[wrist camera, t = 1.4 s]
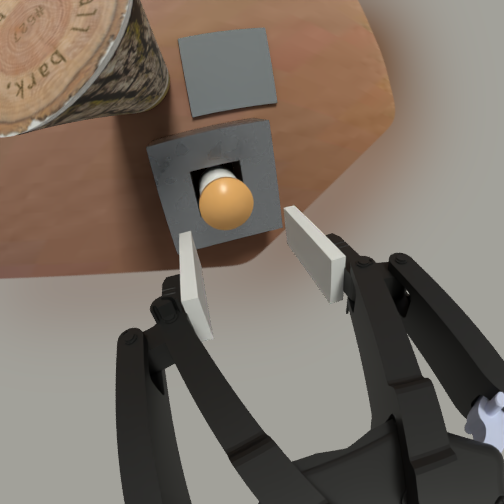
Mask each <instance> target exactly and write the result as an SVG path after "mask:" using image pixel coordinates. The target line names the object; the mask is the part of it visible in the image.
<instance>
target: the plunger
mask: <svg viewBox="0 0 504 504" xmlns="http://www.w3.org/2000/svg"><path fill="white" fill-rule="evenodd" d="M199 191H200V198H199V208H200V213H201V216H202V218H203V219H204V221H205V222H206V223H207V224H208V225H210V226H211V227H213V228H215V229H218V230H231V229H235V228H237V227H239V226H241V225H242V224H243V223H245V222H246V221H247V219H248V218H249V217H250V215H251V213H252V210H253V205H254V201H253V196H252V193H251V191H250V190H249V188H248V187H247V186H246V185H245V184H244V183H243V182H242V181H240V180H239V179H237V178H236V177H235V176H234V174H233V173H232V172H231V171H230V170H229V169H228V168H226V167H223V166H213V167H210V168H208V169H206V170H205V171H204V172H203V173H202V175H201V176H200V179H199Z"/></svg>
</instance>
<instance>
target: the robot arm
mask: <svg viewBox="0 0 504 504" xmlns="http://www.w3.org/2000/svg"><path fill="white" fill-rule="evenodd" d="M284 217H285V226H286V236H287V244H288V245H289V247H290V248H291V250H292V251H293V252H294V254H295V255H296V257H297V258H298V259H299V261H300V262H301V264H302V265H303V266H304V268H305V269H306V270H307V272H308V273H309V275H310V276H311V277H312V279H313V280H314V282H315V283H316V285H317V286H318V288H319V289H320V290H321V292H322V293H323V295H324V296H325V298H326V299H327V300H328V302H329V303H330V304H332V303H335V302H337V301H340V300H343V292H345V293H346V295H347V296H348V299H347V308H346V314H348V311H349V312H350V315H351V319H352V323H353V327H354V331H355V335H356V340H357V344H358V348H359V352H360V356H361V361H362V366H363V370H364V375H365V380H366V385H367V391H368V395H369V401H370V407H371V413H372V420H371V430H370V431H369V432H367V433H366V434H365V435H364V436H363V437H361V438H360V439H359V440H357V441H356V442H355V443H354V444H352V445H351V446H350V447H348V448H346V449H341V450H336V451H330V452H323V453H317V454H314V455H311V456H308V457H305V458H302V459H299V460H296V461H293V462H291V461H290V460H289V458H288V457H287V456H286V455H285V454H284V453H283V452H282V450H281V449H280V448H279V447H278V445H277V444H276V443H275V442H274V441H273V440H272V439H271V437H270V436H268V435H267V434H266V433H265V432H264V431H263V430H262V428H261V427H260V426H259V425H258V423H257V422H256V421H255V419H254V418H253V417H252V415H251V414H250V413H249V411H248V410H247V409H246V407H245V406H244V405H243V403H242V402H241V400H240V399H239V398H238V396H237V395H236V393H235V392H234V391H233V389H232V388H231V386H230V385H229V383H228V382H227V381H226V379H225V377H224V376H223V375H222V373H221V372H220V370H219V369H218V367H217V366H216V364H215V363H214V361H213V360H212V358H211V357H210V355H209V354H208V352H207V350H206V349H205V347H204V346H203V344H202V341H206V340H210V339H214V338H213V332H212V327H211V321H210V316H209V310H208V305H207V299H206V293H205V287H204V280H203V274H202V268H201V264H200V260H199V257H198V254H197V250H196V247H195V244H194V240H193V237H192V233H191V231H188V232H184V233H181V234H179V256H180V274H178V275H174V276H170V277H166V279H165V280H164V282H163V284H162V296H161V297H159V298H157V299H155V301H153V303H152V304H151V306H150V311H151V313H152V315H153V317H154V319H155V321H156V323H157V324H156V325H155V326H153V327H152V328H150V329H148V330H146V331H144V332H142V331H141V330H140V329H138V328H130V329H128V330H126V331H124V332H123V333H122V334H121V335H120V336H119V338H118V342H117V358H116V429H117V443H118V456H119V466H120V475H121V482H122V489H123V496H124V501H125V504H191V500H190V496H189V493H188V489H187V486H186V481H185V478H184V473H183V469H182V465H181V461H180V456H179V452H178V447H177V442H176V437H175V432H174V426H173V421H172V415H171V410H170V403H169V396H168V389H167V382H166V375H165V368H167V367H169V366H171V365H173V364H176V366H177V368H178V370H179V372H180V374H181V376H182V378H183V380H184V381H185V384H186V386H187V388H188V389H189V391H190V393H191V395H192V397H193V399H194V400H195V402H196V404H197V406H198V408H199V409H200V411H201V413H202V415H203V416H204V418H205V420H206V422H207V423H208V425H209V426H210V428H211V430H212V431H213V433H214V435H215V436H216V438H217V440H218V441H219V443H220V444H221V446H222V447H223V449H224V451H225V452H226V454H227V455H228V457H229V460H230V461H231V463H232V465H233V466H234V468H235V469H236V471H237V472H238V474H239V475H240V476H241V478H242V479H243V481H244V482H245V483H246V485H247V486H248V487H249V489H250V490H251V491H252V492H253V494H254V495H255V496H256V498H257V499H258V500H259V503H258V504H504V460H503V457H502V454H501V452H502V451H503V449H504V361H503V359H502V358H501V357H500V355H499V354H498V353H497V351H496V350H495V349H494V347H493V346H492V345H491V344H490V342H489V341H488V340H487V339H486V337H485V336H484V335H483V334H482V333H481V332H480V330H479V329H478V328H477V327H476V325H475V324H474V323H473V322H472V321H471V319H470V318H469V317H468V316H467V315H466V314H465V313H464V312H463V310H462V309H461V308H460V307H459V306H458V305H457V304H456V303H455V302H454V301H453V299H451V297H450V296H449V295H448V294H447V293H446V292H445V291H444V290H443V289H442V288H441V287H440V286H439V285H438V284H437V283H436V282H435V281H434V280H433V279H432V278H431V277H430V276H429V275H428V274H427V273H426V272H425V271H424V270H423V269H422V268H421V267H420V266H419V265H418V264H417V263H416V262H415V261H414V260H413V259H412V258H411V257H410V256H408V255H406V254H403V253H394V254H392V255H391V256H390V257H389V262H382V263H376V262H375V261H374V260H373V259H372V258H370V257H367V256H360V255H358V253H356V252H355V251H354V250H353V249H352V248H351V247H350V246H348V244H347V243H346V242H344V240H343V239H342V238H341V237H339V236H337V235H335V234H333V233H332V234H328V235H324V234H323V233H322V232H321V231H320V230H319V229H318V228H317V227H316V226H315V225H314V224H313V223H312V222H311V221H310V220H309V219H308V218H307V217H306V216H305V215H304V214H303V213H302V212H301V211H300V210H299V209H298V208H296V207H295V206H290V207H286V208H284ZM406 290H407V291H408V292H409V294H408V293H407V292H406ZM407 334H408V335H409V337H410V338H411V340H412V341H413V342H414V344H415V345H416V347H417V348H418V350H419V351H420V353H421V354H422V355H423V357H424V358H425V360H426V361H427V363H428V364H429V366H430V367H431V369H432V371H433V372H434V374H435V375H436V377H437V378H438V380H439V381H440V383H441V384H442V386H443V388H444V389H445V391H446V392H447V394H448V396H449V397H450V399H451V401H452V402H453V404H454V405H455V407H456V408H457V409H458V410H459V412H460V413H461V414H462V415H463V416H464V417H465V418H466V419H467V423H466V425H465V431H466V433H468V434H472V435H473V440H472V439H468V438H465V437H461V436H458V435H455V434H451V433H448V432H447V431H446V427H445V423H444V420H443V416H442V412H441V409H440V405H439V402H438V399H437V395H436V392H435V389H434V386H433V384H432V381H431V380H430V379H429V378H424V377H423V376H422V374H421V371H420V369H419V366H418V363H417V360H416V357H415V354H414V351H413V349H412V346H411V343H410V340H409V338H408V335H407Z"/></svg>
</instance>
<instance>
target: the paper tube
mask: <svg viewBox="0 0 504 504" xmlns="http://www.w3.org/2000/svg"><path fill="white" fill-rule="evenodd" d="M169 85H170V77H169V72H168V70H167V68H166V64H165V62H164V59H163V57H162V54H161V52H160V49H159V47H158V44H157V42H156V39H155V37H154V34H153V32H152V29H151V27H150V24H149V22H148V19H147V17H146V14H145V12H144V9H143V7H142V4H141V1H140V0H0V137H9V136H14V135H20V134H24V133H28V132H32V131H35V130H39V129H43V128H48V127H52V126H56V125H61V124H66V123H71V122H76V121H81V120H87V119H93V118H100V117H107V116H115V115H123V114H133V113H141V112H145V111H148V110H150V109H152V108H154V107H155V106H157V105H158V104H159V103H160V102H161V101H162V100H163V99H164V97H165V96H166V94H167V92H168V89H169Z"/></svg>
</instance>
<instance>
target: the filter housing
mask: <svg viewBox="0 0 504 504" xmlns="http://www.w3.org/2000/svg"><path fill="white" fill-rule="evenodd" d="M146 149H147V153H148V157H149V161H150V164H151V168H152V172H153V175H154V179H155V183H156V186H157V190H158V193H159V197H160V200H161V203H162V207H163V210H164V213H165V217H166V220H167V223H168V226H169V229H170V233H171V236H172V239H173V242H174V245H175V248H176V251H177V254H179V234H181V233H184V232H188V231H191V233H192V237H193V240H194V244H195V247H196V249H200V248H204V247H207V246H211V245H215V244H219V243H223V242H227V241H231V240H235V239H239V238H243V237H247V236H251V235H255V234H258V233H262V232H266V231H271V230H275V229H279V228H283V227H282V218H281V209H280V200H279V192H278V184H277V176H276V168H275V160H274V153H273V145H272V138H271V131H270V124H269V120H264V119H258V118H250V119H244V120H238V121H232V122H227V123H222V124H217V125H212V126H208V127H203V128H199V129H194V130H190V131H186V132H182V133H178V134H174V135H171V136H167V137H163V138H160V139H156V140H153V141H152V142H151V143H150V144H149V145H148V146H147V147H146ZM229 162H232V165H233V171H234V176H235V177H236V178H237V179H239V180H240V181H242V182H243V183H244V184H245V185H246V186H247V187H248V188H249V190H250V191H251V193H252V196H253V201H254V205H253V210H252V213H251V215H250V217H249V218H248V219H247V221H246V222H245V223H243V224H242V225H241V226H239V227H237V228H235V229H231V230H218V229H215V228H213V227H211V226H210V225H208V224H207V223H206V222H205V221H204V219H203V218H202V216H201V213H200V208H199V199H197V195H196V191H195V186H194V182H193V178H192V174H191V171H194V170H198V169H203V168H207V167H211V166H215V165H220V164H224V163H229Z"/></svg>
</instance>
